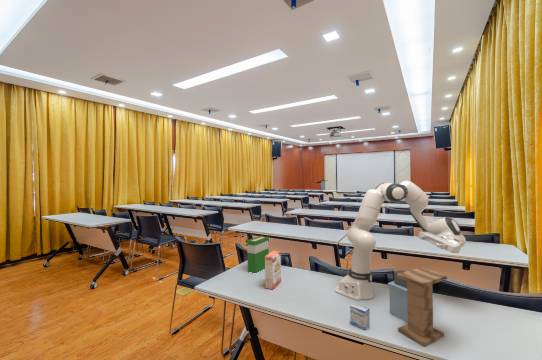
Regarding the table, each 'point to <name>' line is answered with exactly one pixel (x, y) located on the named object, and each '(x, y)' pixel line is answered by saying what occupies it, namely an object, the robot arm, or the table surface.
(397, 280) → the mallet
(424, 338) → the stand
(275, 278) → the cracker box
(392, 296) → the grey-blue block
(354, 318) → the medicine box
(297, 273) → the table surface
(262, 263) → the hardback book
